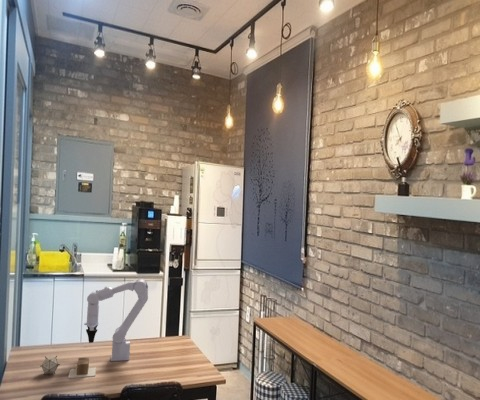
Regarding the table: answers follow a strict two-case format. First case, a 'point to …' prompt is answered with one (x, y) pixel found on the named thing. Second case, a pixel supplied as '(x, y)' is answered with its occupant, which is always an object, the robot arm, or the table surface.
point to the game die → (50, 365)
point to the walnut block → (83, 366)
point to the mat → (74, 375)
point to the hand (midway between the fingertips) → (91, 340)
